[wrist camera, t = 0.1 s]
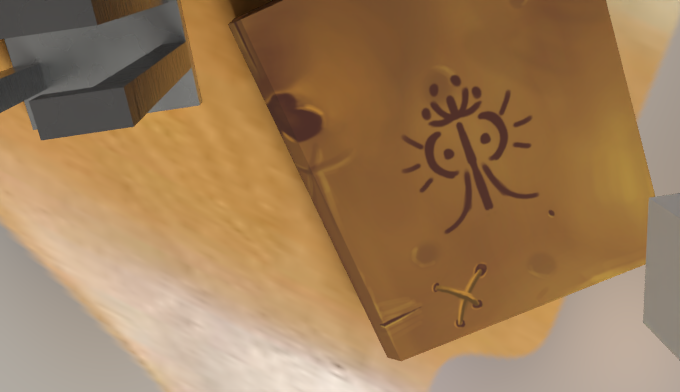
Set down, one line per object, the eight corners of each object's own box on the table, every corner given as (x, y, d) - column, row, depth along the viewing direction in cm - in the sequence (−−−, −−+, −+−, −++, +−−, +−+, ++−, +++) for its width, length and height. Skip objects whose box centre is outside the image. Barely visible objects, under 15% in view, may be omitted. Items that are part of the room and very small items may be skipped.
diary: (236, 16, 37) (225, 25, 32) (530, -118, 36) (572, -132, 30) (378, 319, 45) (389, 367, 40) (625, 220, 44) (672, 256, 38)
